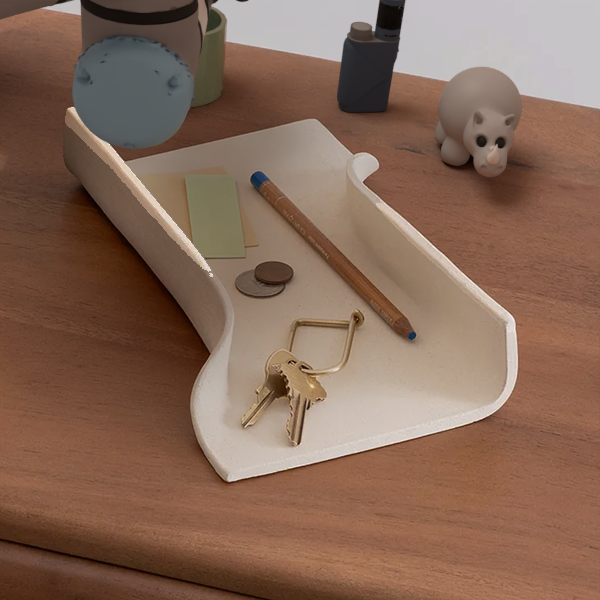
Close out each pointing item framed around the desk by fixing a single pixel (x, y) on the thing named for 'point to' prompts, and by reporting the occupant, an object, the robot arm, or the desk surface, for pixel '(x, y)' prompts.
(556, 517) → the desk surface
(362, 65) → the vaping device
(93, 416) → the desk surface
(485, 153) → the chubby cartoon animal
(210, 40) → the cup
